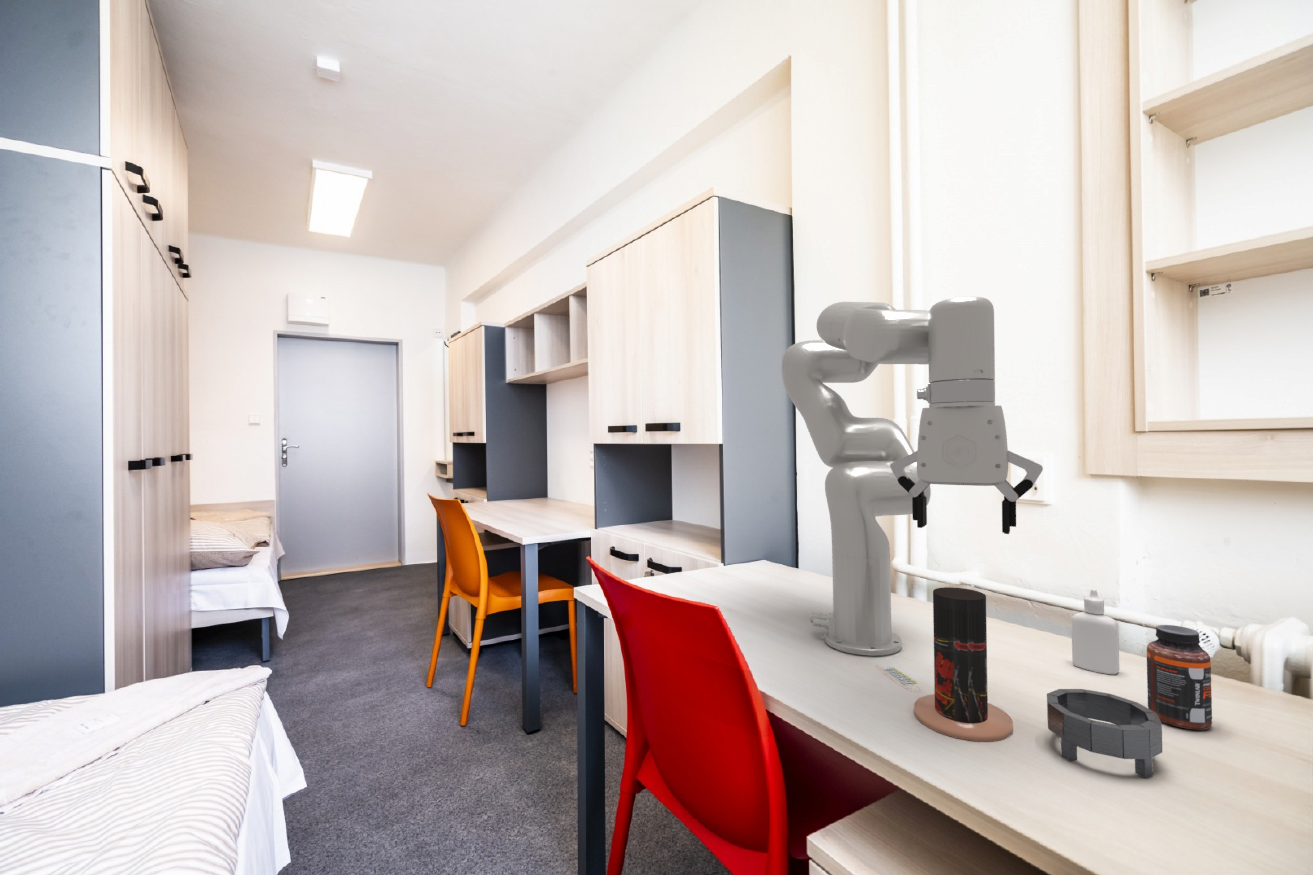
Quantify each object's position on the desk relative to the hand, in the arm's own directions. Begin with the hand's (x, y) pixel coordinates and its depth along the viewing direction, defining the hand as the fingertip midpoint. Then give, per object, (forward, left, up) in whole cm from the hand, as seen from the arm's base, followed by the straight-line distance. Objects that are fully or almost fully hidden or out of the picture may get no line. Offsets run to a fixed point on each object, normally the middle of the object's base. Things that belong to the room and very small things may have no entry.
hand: (962, 529), depth 75 cm
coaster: (0, -2, -24) cm, 24 cm away
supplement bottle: (+23, +11, -24) cm, 35 cm away
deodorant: (-1, -2, -23) cm, 23 cm away
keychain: (-9, +8, -24) cm, 27 cm away
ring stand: (+14, -3, -24) cm, 28 cm away
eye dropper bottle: (+16, +26, -24) cm, 39 cm away
